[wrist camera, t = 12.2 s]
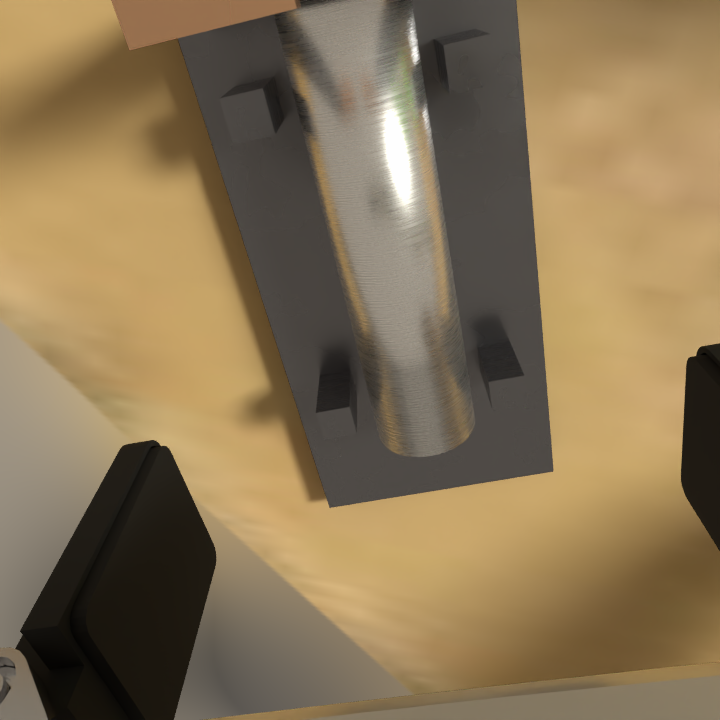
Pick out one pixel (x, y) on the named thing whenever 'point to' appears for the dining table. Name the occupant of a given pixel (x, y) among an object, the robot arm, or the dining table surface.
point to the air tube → (383, 212)
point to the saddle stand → (314, 251)
